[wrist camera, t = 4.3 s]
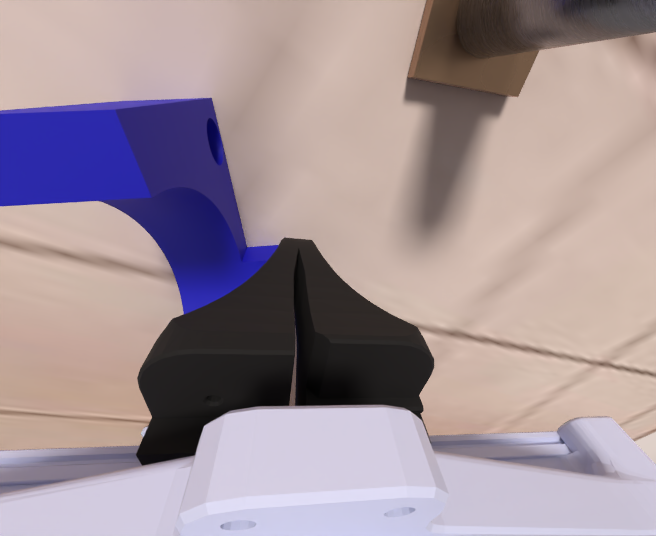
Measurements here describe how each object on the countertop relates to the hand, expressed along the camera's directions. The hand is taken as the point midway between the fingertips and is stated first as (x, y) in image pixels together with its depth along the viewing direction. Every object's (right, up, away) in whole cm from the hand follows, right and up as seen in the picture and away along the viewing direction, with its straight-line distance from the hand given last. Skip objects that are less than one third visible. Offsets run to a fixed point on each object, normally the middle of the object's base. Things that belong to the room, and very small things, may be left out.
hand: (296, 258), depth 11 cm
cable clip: (-3, +1, +1) cm, 4 cm away
